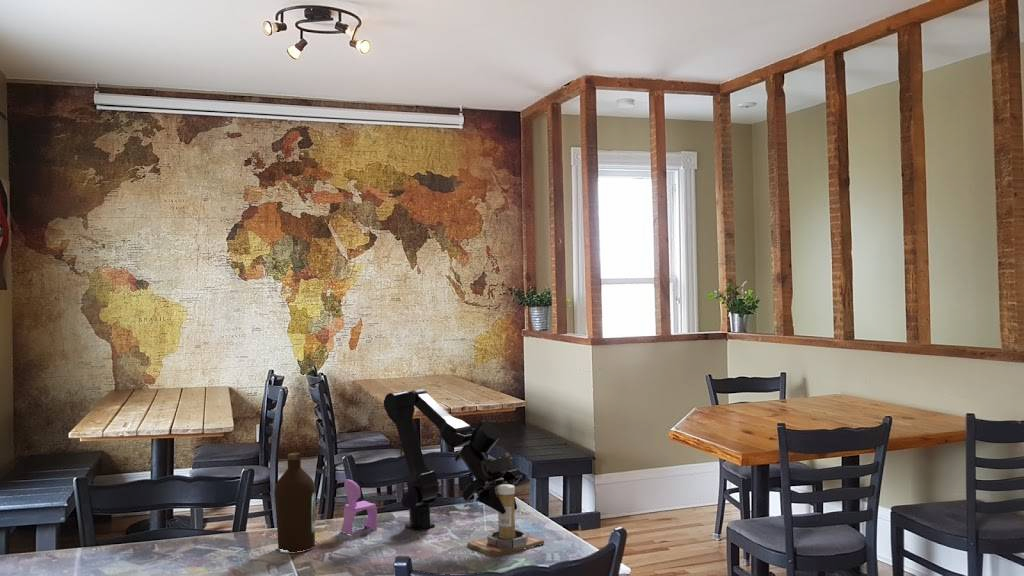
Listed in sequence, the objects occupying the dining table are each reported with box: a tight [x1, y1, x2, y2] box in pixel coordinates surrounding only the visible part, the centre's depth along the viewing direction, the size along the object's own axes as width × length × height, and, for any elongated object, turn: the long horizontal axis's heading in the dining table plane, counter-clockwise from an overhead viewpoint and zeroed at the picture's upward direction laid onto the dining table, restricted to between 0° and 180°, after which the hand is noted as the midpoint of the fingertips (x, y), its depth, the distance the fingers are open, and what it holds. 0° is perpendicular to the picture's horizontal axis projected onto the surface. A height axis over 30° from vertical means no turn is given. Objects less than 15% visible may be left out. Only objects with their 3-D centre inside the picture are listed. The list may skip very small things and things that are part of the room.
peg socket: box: [486, 528, 529, 548], centre depth 221 cm, size 10×10×2 cm
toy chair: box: [340, 478, 378, 536], centre depth 239 cm, size 8×9×15 cm
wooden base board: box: [466, 534, 545, 558], centre depth 221 cm, size 12×16×1 cm
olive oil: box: [273, 452, 317, 552], centre depth 225 cm, size 11×11×25 cm
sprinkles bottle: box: [496, 484, 516, 539], centre depth 221 cm, size 5×5×14 cm
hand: (510, 511), depth 220 cm, fingers closed on sprinkles bottle, 4 cm apart
